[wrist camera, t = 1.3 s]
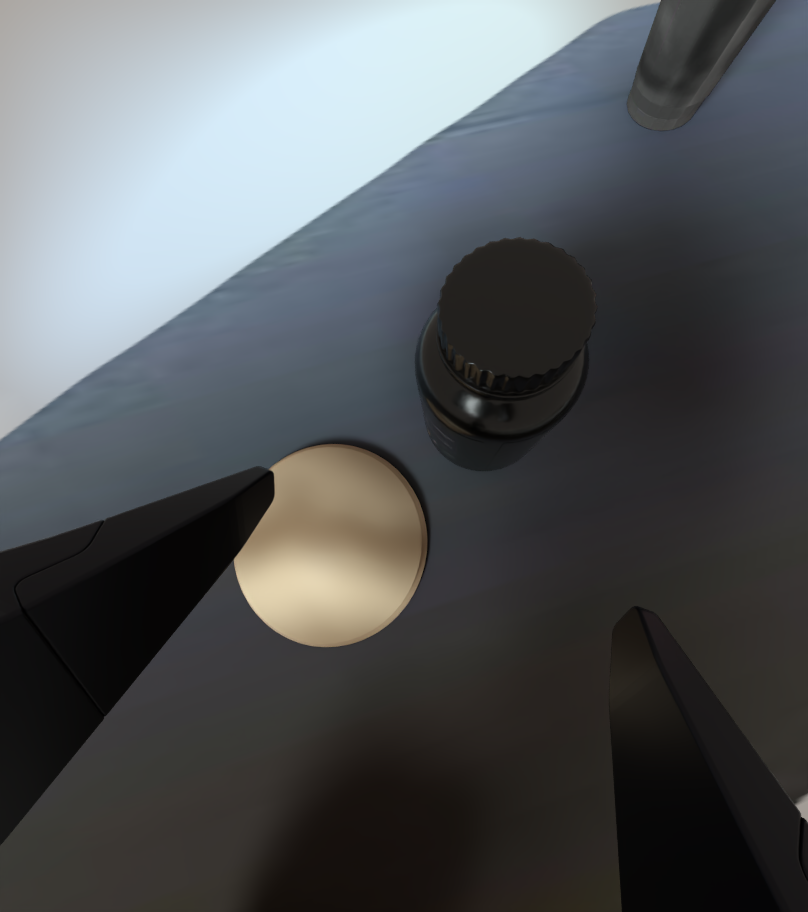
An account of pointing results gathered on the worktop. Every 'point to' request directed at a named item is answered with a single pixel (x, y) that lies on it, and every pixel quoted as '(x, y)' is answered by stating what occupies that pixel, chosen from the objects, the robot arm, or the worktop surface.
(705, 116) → the worktop surface
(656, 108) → the beverage cup
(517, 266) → the supplement bottle
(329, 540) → the coaster
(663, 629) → the robot arm
